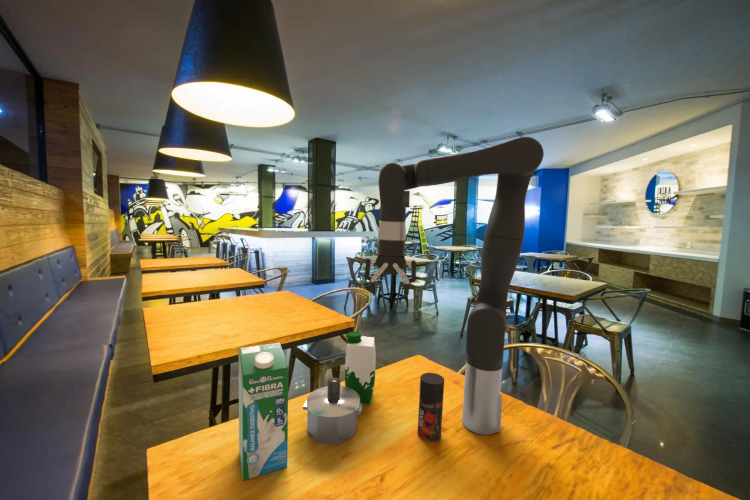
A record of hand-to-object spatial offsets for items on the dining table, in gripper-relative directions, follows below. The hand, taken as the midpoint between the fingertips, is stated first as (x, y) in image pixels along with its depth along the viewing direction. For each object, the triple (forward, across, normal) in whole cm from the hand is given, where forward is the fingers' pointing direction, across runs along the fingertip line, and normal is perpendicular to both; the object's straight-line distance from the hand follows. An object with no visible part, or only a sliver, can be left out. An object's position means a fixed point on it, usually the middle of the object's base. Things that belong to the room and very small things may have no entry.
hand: (389, 295), depth 91 cm
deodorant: (+33, -12, +10) cm, 37 cm away
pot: (+33, +13, +11) cm, 37 cm away
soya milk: (+33, +8, -4) cm, 34 cm away
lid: (+26, +13, +11) cm, 31 cm away
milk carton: (+33, +26, +24) cm, 49 cm away
